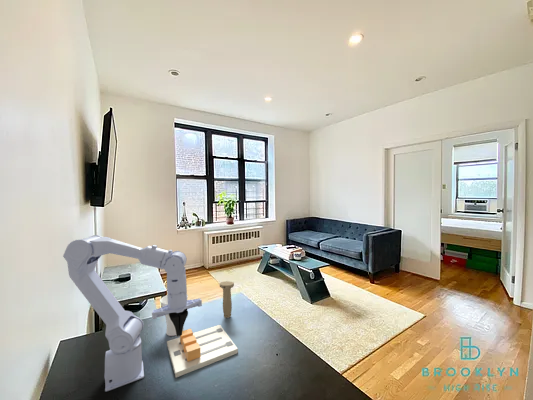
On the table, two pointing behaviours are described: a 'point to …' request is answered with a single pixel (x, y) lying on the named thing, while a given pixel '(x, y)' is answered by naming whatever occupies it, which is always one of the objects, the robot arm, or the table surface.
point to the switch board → (202, 350)
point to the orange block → (192, 351)
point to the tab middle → (188, 341)
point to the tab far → (186, 334)
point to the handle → (227, 298)
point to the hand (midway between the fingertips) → (179, 334)
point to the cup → (168, 318)
